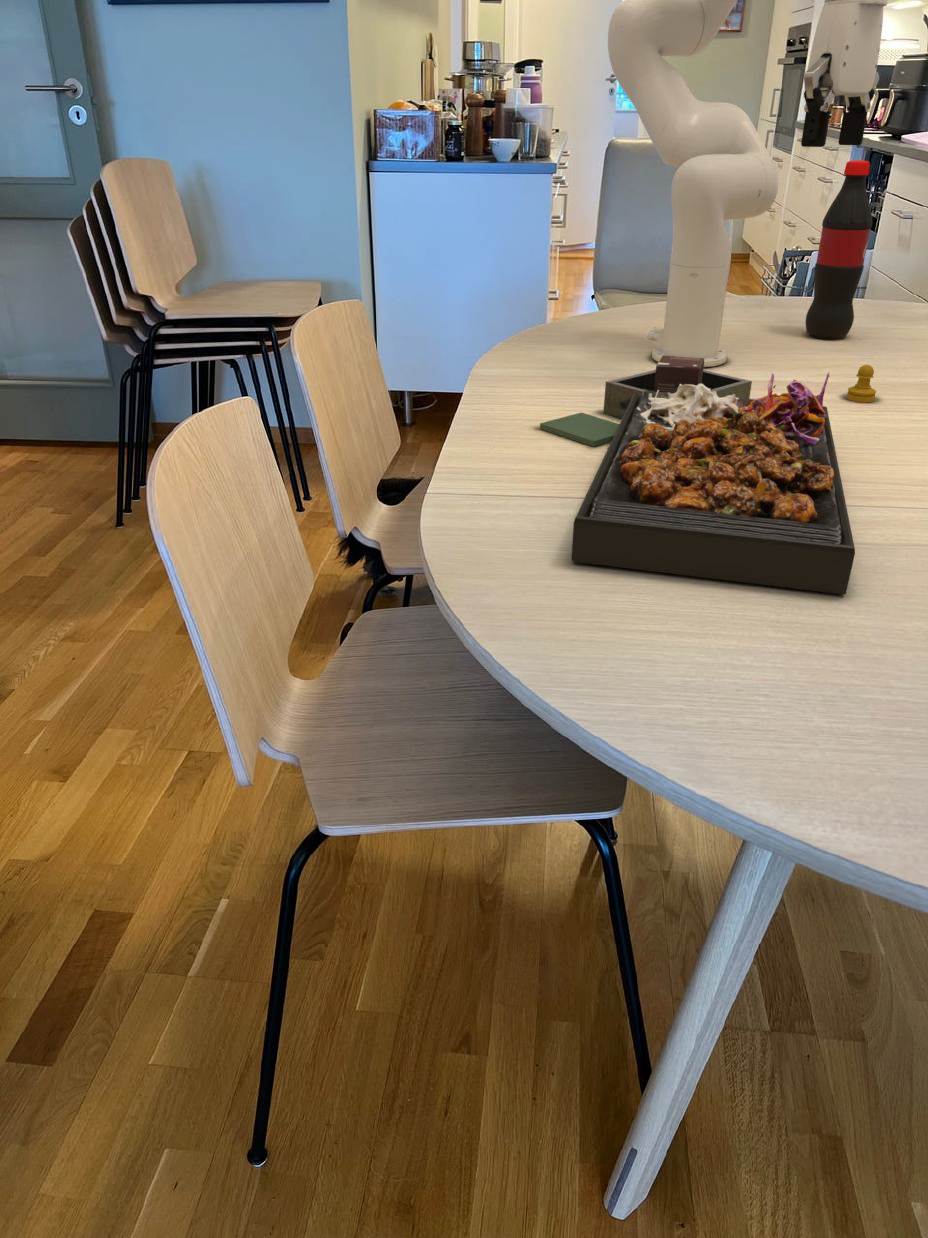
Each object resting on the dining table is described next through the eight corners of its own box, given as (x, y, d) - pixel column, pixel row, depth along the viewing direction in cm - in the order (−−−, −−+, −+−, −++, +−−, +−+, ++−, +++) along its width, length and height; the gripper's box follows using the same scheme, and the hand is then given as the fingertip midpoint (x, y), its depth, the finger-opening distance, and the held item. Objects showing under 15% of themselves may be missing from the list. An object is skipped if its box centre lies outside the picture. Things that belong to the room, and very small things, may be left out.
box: (699, 409, 133) (705, 357, 129) (694, 420, 128) (701, 367, 124) (657, 405, 134) (662, 354, 131) (650, 416, 129) (655, 364, 126)
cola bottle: (851, 333, 177) (886, 159, 162) (848, 342, 170) (883, 161, 155) (805, 329, 180) (835, 158, 165) (800, 338, 173) (830, 160, 159)
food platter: (630, 424, 125) (637, 347, 120) (821, 440, 119) (836, 359, 114) (571, 561, 87) (577, 457, 82) (845, 594, 81) (870, 484, 76)
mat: (539, 428, 125) (540, 423, 124) (581, 417, 129) (581, 412, 129) (593, 447, 118) (594, 441, 118) (635, 434, 122) (635, 428, 122)
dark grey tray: (603, 413, 131) (605, 381, 129) (675, 393, 140) (678, 363, 138) (675, 434, 122) (679, 401, 120) (747, 412, 131) (752, 381, 129)
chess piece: (876, 402, 135) (884, 368, 133) (848, 401, 136) (855, 367, 134) (871, 395, 139) (879, 362, 136) (844, 394, 139) (851, 361, 137)
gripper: (862, 0, 123) (838, 143, 132) (793, -10, 113) (771, 146, 121) (917, -5, 118) (888, 144, 127) (850, -16, 108) (824, 147, 117)
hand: (831, 145), depth 124 cm, fingers open, 9 cm apart
